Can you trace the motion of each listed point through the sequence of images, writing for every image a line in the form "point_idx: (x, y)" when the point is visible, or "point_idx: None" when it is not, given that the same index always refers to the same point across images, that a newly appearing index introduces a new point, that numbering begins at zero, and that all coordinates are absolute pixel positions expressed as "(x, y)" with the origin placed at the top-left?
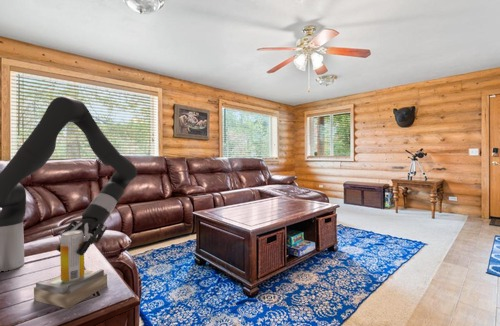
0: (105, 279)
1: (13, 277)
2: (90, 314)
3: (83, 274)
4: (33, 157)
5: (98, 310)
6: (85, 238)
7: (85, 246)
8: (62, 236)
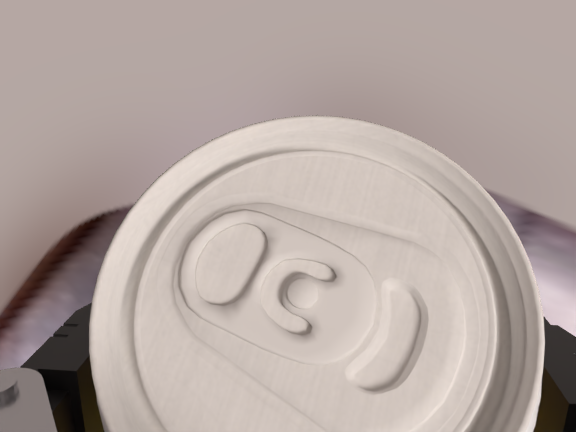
0: None
1: None
2: (41, 269)
3: None
4: None
5: (20, 303)
6: (39, 402)
7: (43, 350)
8: (353, 131)
